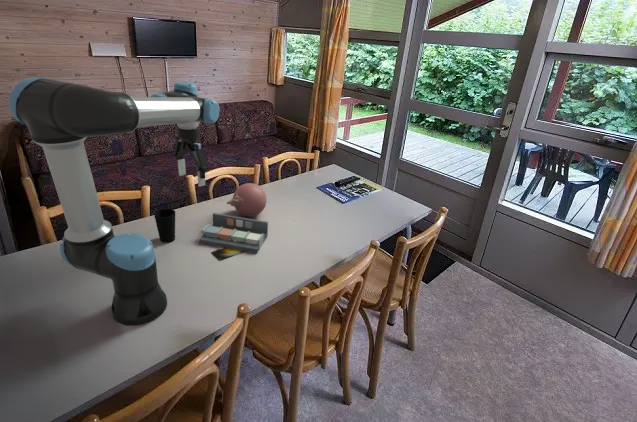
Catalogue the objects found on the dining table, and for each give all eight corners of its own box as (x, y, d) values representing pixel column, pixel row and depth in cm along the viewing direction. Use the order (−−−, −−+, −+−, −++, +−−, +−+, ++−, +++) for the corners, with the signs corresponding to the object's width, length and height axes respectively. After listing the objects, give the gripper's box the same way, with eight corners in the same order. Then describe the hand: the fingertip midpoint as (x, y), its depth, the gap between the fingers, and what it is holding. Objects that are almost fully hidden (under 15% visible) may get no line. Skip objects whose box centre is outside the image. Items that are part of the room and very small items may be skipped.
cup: (170, 245, 141) (168, 218, 136) (153, 242, 143) (149, 215, 137) (181, 236, 148) (179, 210, 143) (164, 233, 149) (161, 207, 144)
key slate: (215, 237, 146) (215, 233, 145) (204, 235, 147) (204, 231, 146) (220, 231, 150) (220, 227, 149) (209, 229, 151) (209, 225, 150)
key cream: (257, 244, 144) (257, 240, 143) (245, 242, 145) (245, 238, 144) (261, 238, 148) (261, 234, 148) (249, 236, 149) (249, 232, 148)
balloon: (217, 214, 168) (216, 184, 161) (253, 204, 181) (254, 175, 174) (235, 228, 158) (235, 196, 151) (272, 216, 171) (273, 186, 164)
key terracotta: (229, 239, 145) (229, 235, 145) (218, 237, 146) (218, 233, 145) (234, 234, 150) (234, 229, 149) (223, 232, 150) (222, 228, 149)
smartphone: (210, 252, 140) (243, 240, 149) (210, 253, 140) (243, 241, 150) (219, 260, 135) (253, 248, 145) (219, 262, 136) (253, 249, 145)
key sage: (243, 242, 145) (243, 237, 144) (232, 240, 145) (232, 236, 144) (247, 236, 149) (247, 232, 148) (236, 234, 150) (236, 230, 149)
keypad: (257, 253, 142) (257, 238, 139) (199, 243, 145) (198, 228, 142) (267, 236, 155) (268, 221, 152) (214, 227, 157) (213, 212, 154)
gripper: (217, 133, 129) (218, 187, 139) (179, 118, 143) (183, 169, 153) (198, 136, 124) (201, 192, 134) (160, 120, 138) (166, 172, 147)
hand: (191, 180), depth 143 cm, fingers open, 13 cm apart
